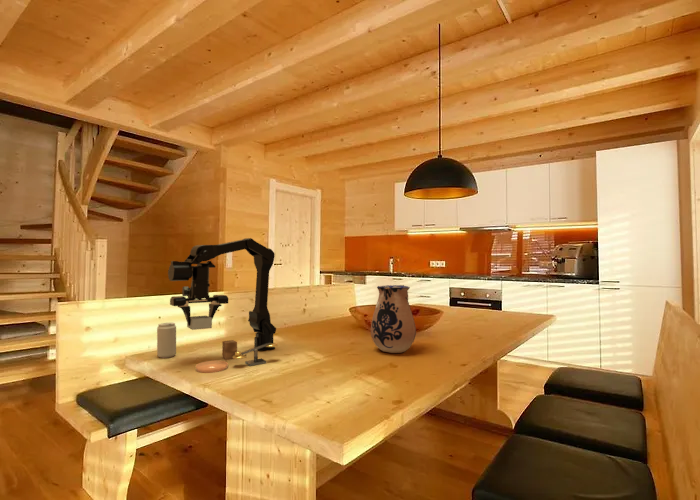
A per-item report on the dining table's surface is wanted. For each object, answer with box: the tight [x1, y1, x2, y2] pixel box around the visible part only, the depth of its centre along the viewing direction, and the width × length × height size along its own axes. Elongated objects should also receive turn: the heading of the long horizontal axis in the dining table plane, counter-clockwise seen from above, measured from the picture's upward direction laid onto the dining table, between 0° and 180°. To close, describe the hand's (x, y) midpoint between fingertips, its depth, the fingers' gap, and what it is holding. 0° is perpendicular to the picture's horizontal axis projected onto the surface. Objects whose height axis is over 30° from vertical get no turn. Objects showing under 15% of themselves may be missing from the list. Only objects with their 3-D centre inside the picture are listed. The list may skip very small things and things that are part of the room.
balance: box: [233, 342, 279, 367], centre depth 139 cm, size 16×4×6 cm, turn 125°
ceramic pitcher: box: [370, 284, 417, 354], centre depth 158 cm, size 18×21×25 cm
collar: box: [186, 315, 213, 331], centre depth 142 cm, size 7×7×4 cm
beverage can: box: [156, 322, 177, 359], centre depth 148 cm, size 6×6×12 cm
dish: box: [195, 359, 229, 374], centre depth 133 cm, size 10×10×1 cm
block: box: [221, 339, 238, 361], centre depth 146 cm, size 4×4×6 cm
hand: (199, 324), depth 142 cm, fingers closed on collar, 7 cm apart
